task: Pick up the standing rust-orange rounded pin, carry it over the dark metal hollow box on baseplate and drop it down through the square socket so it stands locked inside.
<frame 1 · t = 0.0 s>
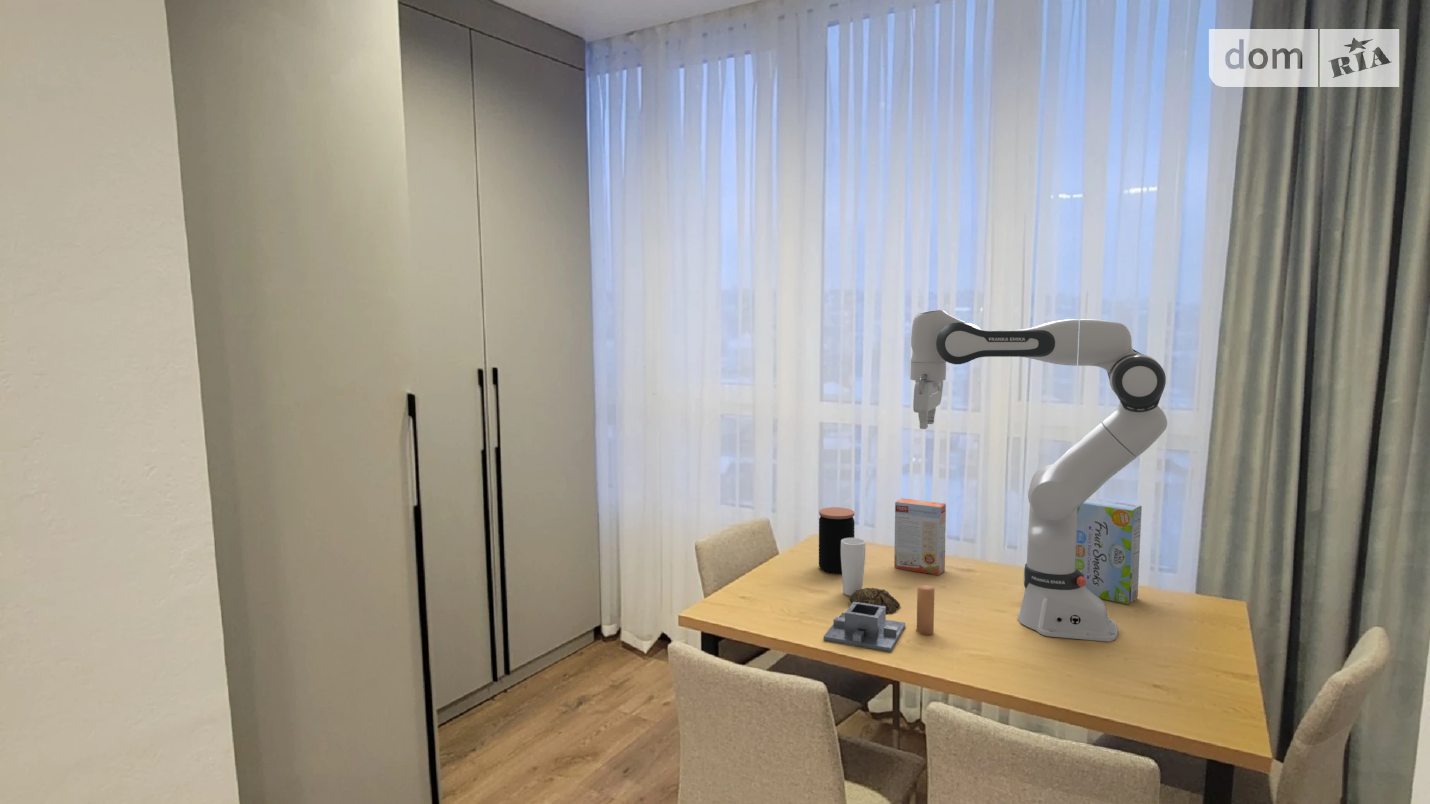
hand: (927, 426, 200), 48 cm above the table, fingers open, 8 cm apart
bread roll: (875, 607, 205), on the table
rounded pin: (925, 631, 188), on the table
hollow box on baseplate: (865, 633, 187), on the table
coffee jar: (836, 569, 234), on the table
snack box: (1091, 593, 213), on the table
drinking glass: (852, 594, 214), on the table
cracker box: (919, 570, 233), on the table
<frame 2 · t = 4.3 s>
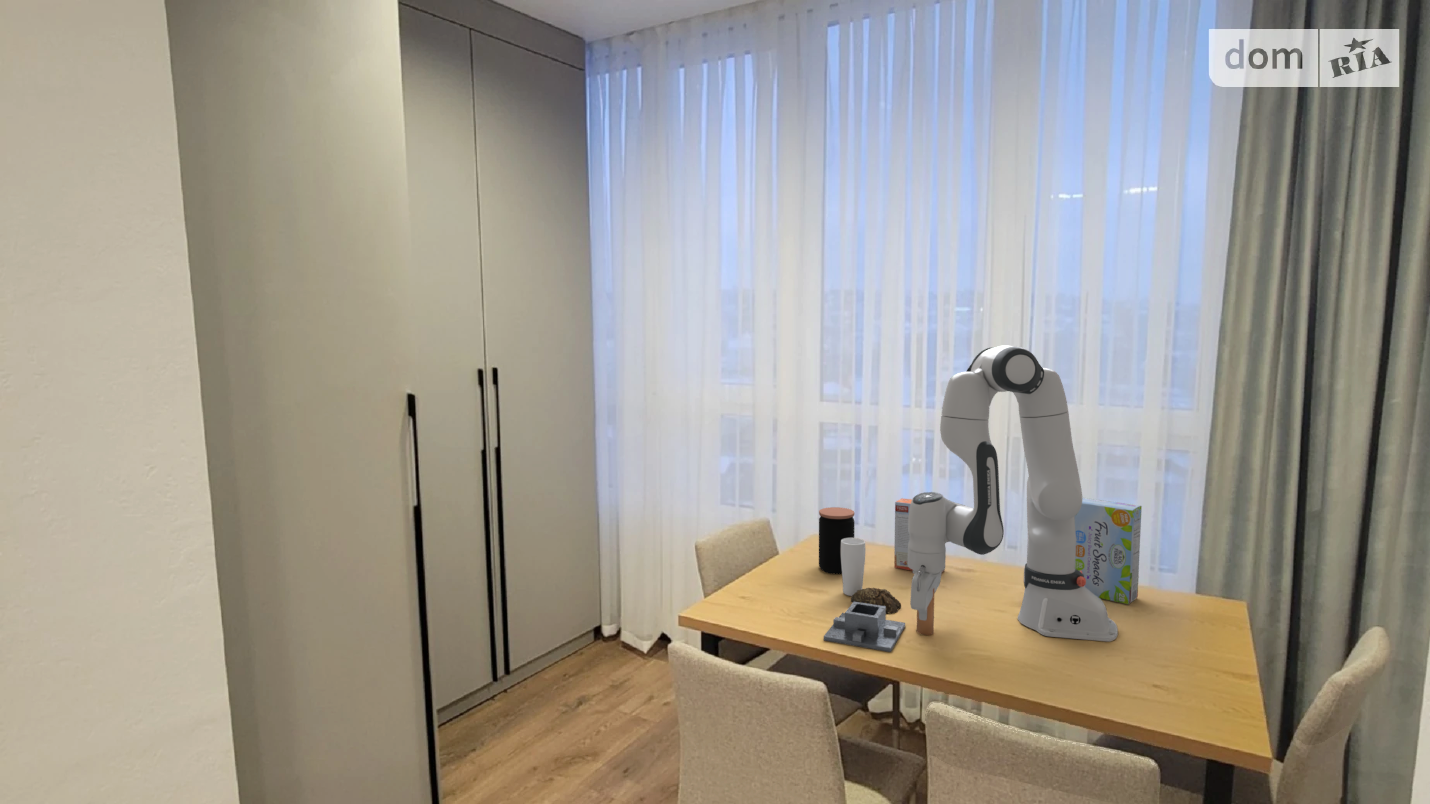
hand: (925, 615, 187), 4 cm above the table, fingers closed on rounded pin, 4 cm apart
rounded pin: (924, 631, 188), on the table, touching gripper
everything else where it was.
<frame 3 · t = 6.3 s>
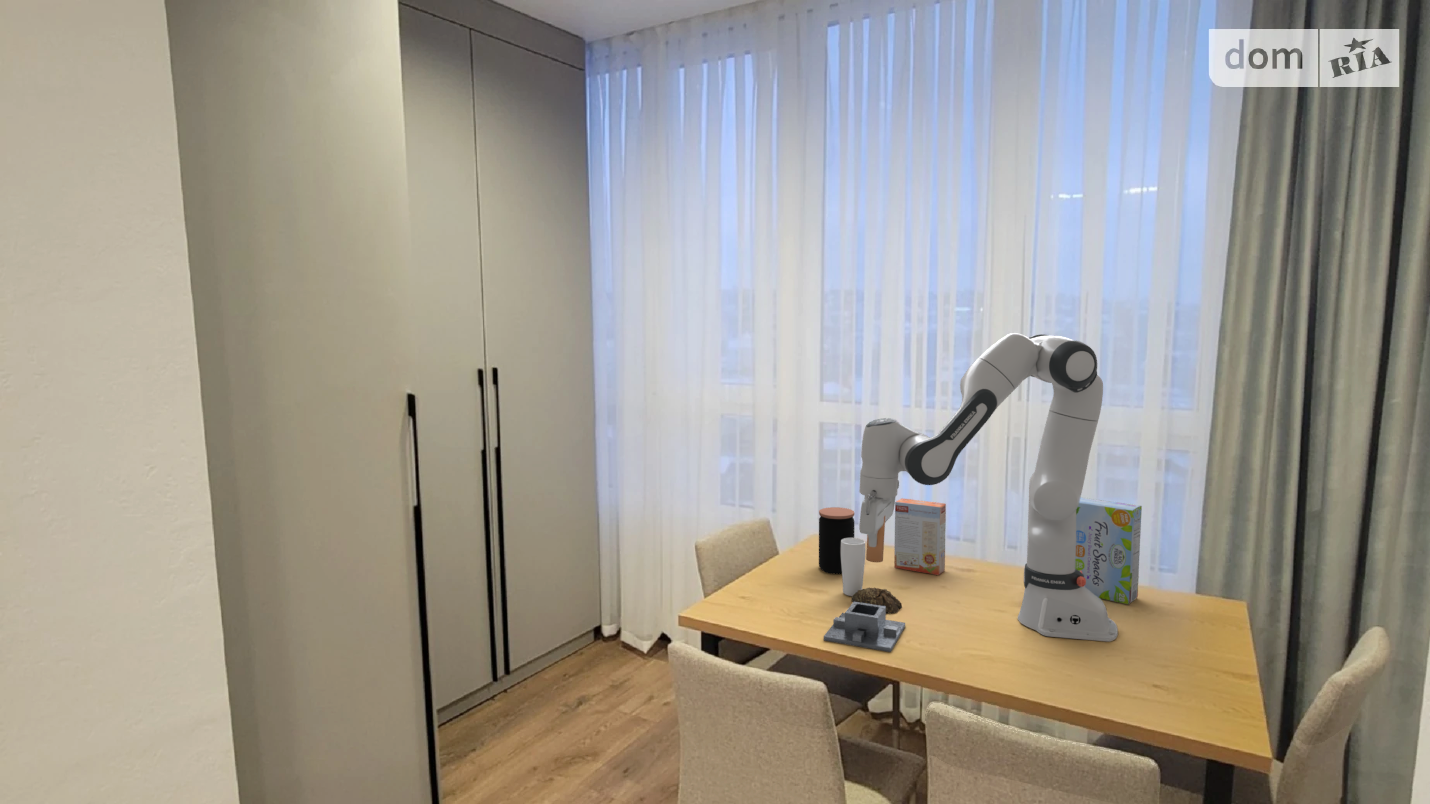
hand: (875, 543, 184), 23 cm above the table, fingers closed on rounded pin, 4 cm apart
rounded pin: (874, 559, 185), point 18 cm above the table, touching gripper
everything else where it was.
when the fingers open (7 cm above the table, at t = 8.8 s): rounded pin drops 2 cm, resting on hollow box on baseplate.
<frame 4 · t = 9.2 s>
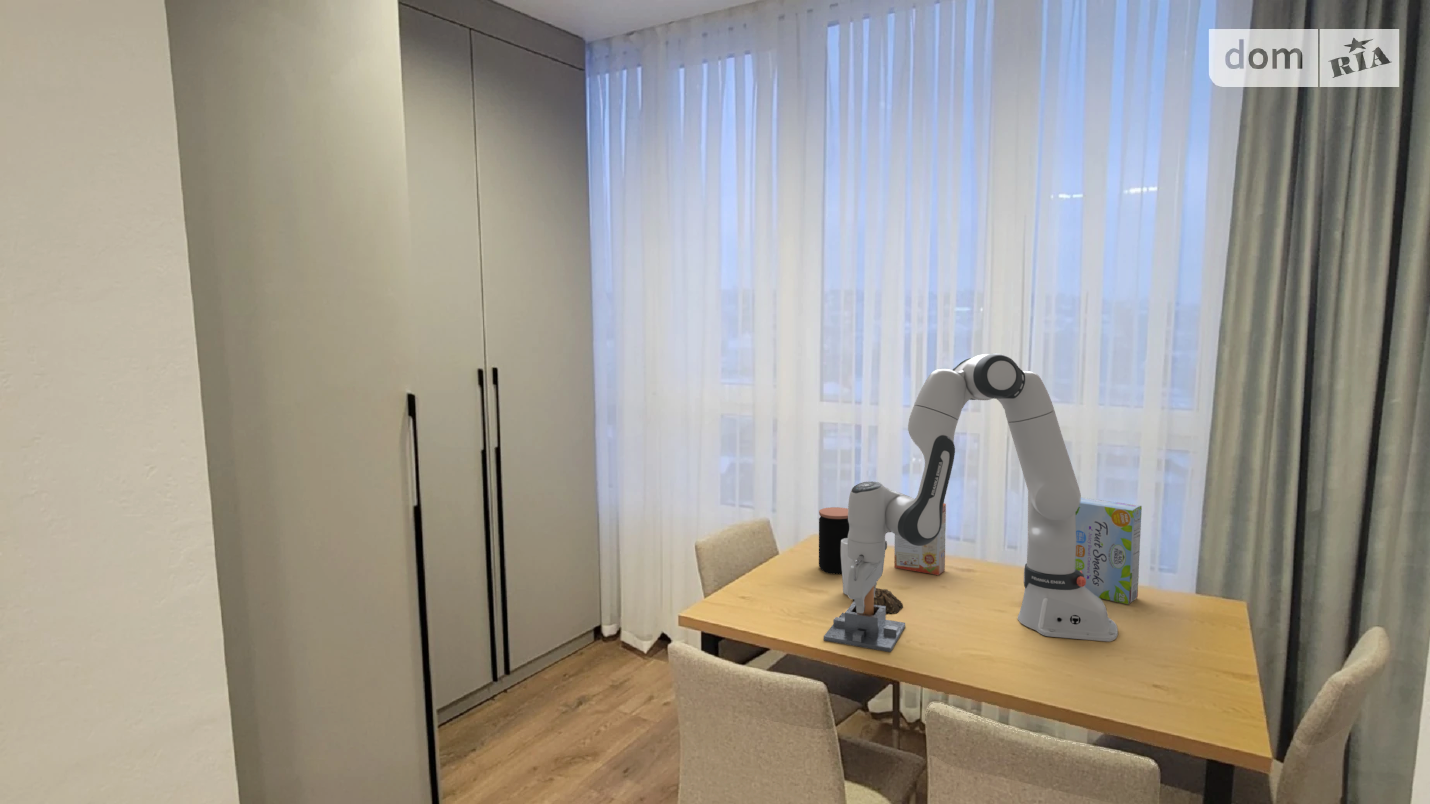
hand: (865, 605, 186), 7 cm above the table, fingers open, 8 cm apart
rounded pin: (865, 629, 187), point 1 cm above the table, touching hollow box on baseplate
everything else where it was.
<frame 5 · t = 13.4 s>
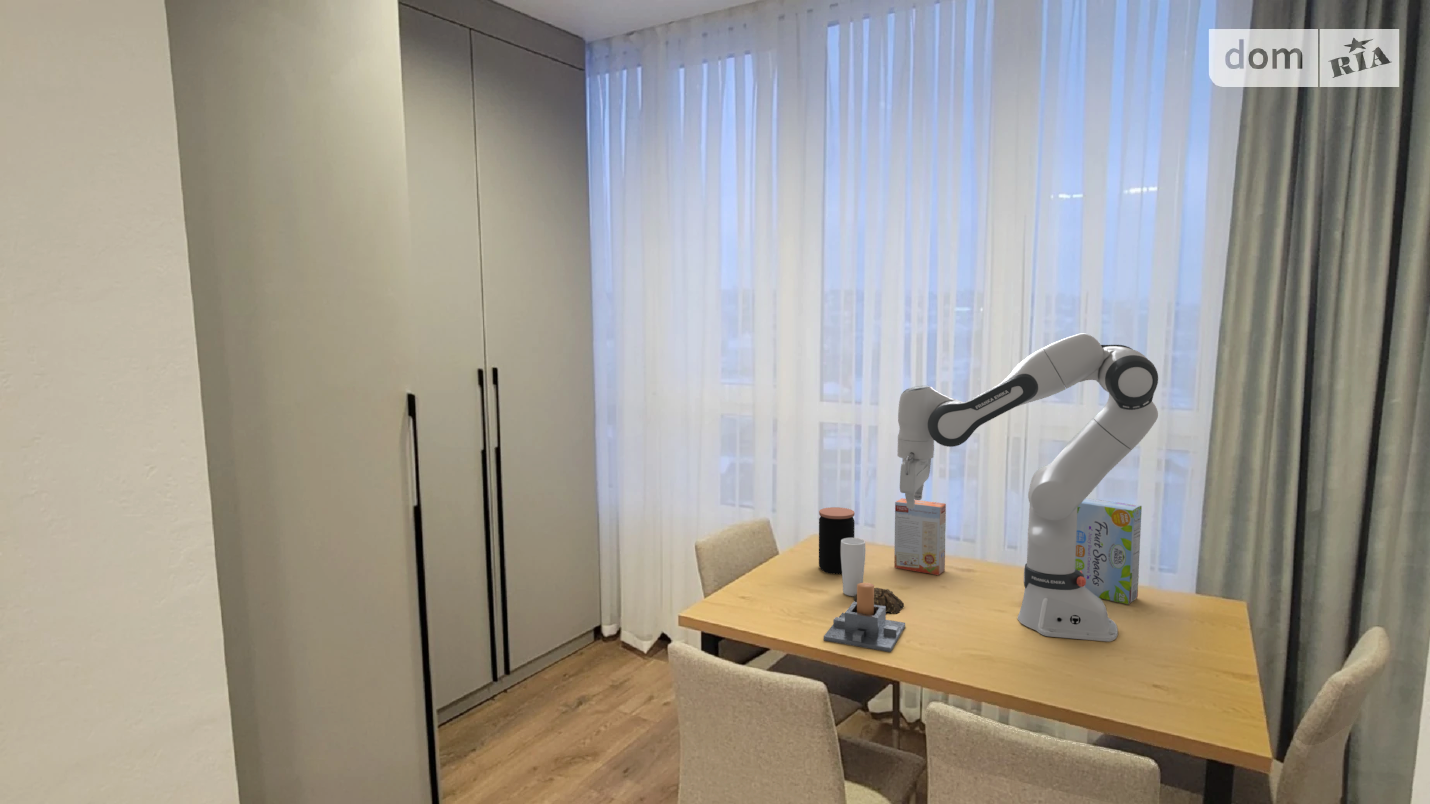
hand: (914, 503, 196), 29 cm above the table, fingers open, 8 cm apart
at the end: rounded pin 0.1 cm off-centre on the hollow box on baseplate, point 1.0 cm above the hollow box on baseplate's base; rounded pin tilted 0°; the gripper is holding nothing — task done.
